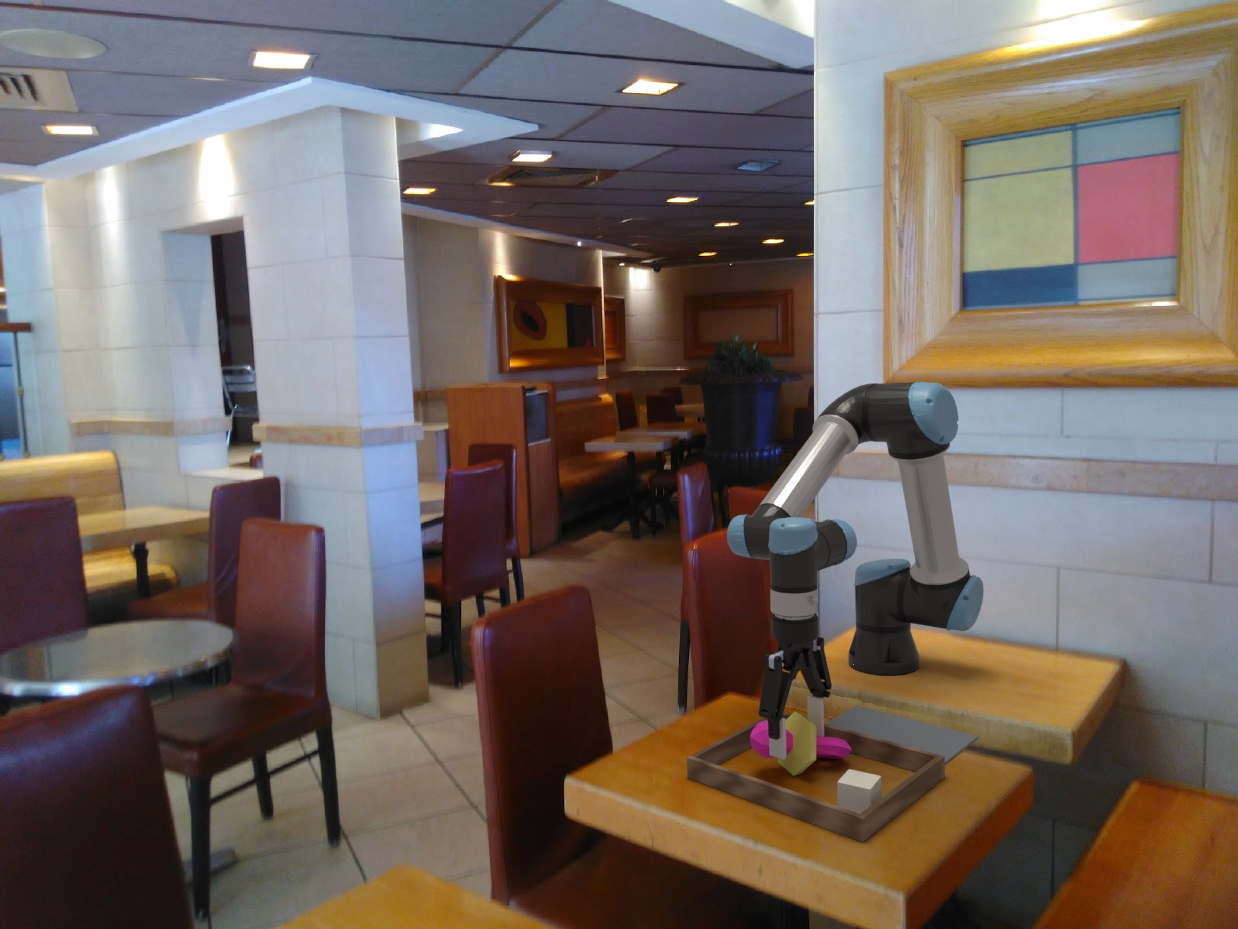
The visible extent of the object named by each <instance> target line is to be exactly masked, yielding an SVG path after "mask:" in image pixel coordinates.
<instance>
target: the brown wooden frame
mask: <svg viewBox="0 0 1238 929" xmlns="http://www.w3.org/2000/svg"><path fill="white" fill-rule="evenodd" d="M776 712H777V710H776ZM791 714H792V713H788V712H783V715H782V718H785V719H787V718H788V717H789V716H790V715H791ZM806 719H807V720H808V718H806ZM765 720H767V721H768V719H767V718H763V717H761V718H760V719H758V720H755V721H754V722H753V723H751V724H749V725H747V726H745V727H742V728H741V729H739V730H737V731H735V732H733V733H731V734H729V735H727V736H725V737H723V738H721V739H720V740H718V741H716V742H714V743H712V744H710V745H708V746H707V747H704V748H702V749H701V750H699V751H697V752H695V753H692V754H691V755H689V756H687V757H686V772H687V773H686V775H687V779H689V780H692V781H695V782H697V783H700V784H703V785H705V786H708V787H711V788H713V789H716V790H719V791H722V792H725V793H728V794H730V795H733V796H735V797H738V798H741V799H743V800H746V801H749V802H751V803H755V804H757V805H760V806H763V807H765V808H767V809H771V810H774V811H776V812H778V813H782V814H784V815H787V816H790V817H793V818H795V819H798V820H800V821H802V822H807V823H809V824H811V825H814V826H817V827H820V828H822V829H825V830H827V831H831V832H833V833H836V834H839V835H842V836H844V837H847V838H850V839H852V840H855V841H858V842H861V843H865V841H867V840H868V839H870V838H871V837H872V836H874V834H876V833H877V832H878V831H879V830H881V829H882V828H884V827H885V826H886V825H887V824H889V822H891V821H892V820H894V819H895V818H896V817H897V816H899V815H900V814H901V813H902V812H904V811H905V810H906V809H907V808H908V807H909V806H911V805H913V803H915V802H916V801H917V800H918V799H919V798H921V797H922V796H924V795H925V794H926V793H927V792H928V791H930V790H931V789H932V788H934V787H935V786H936V785H938V784H939V782H941V781H942V780H943V779H944V778H945V777H946V772H945V771H946V768H945V767H946V764H945V756H941V755H938V754H934V753H930V752H927V751H923V750H919V749H916V748H912V747H909V746H905V745H901V744H898V743H894V742H890V741H887V740H883V739H879V738H876V737H872V736H868V735H865V734H861V733H857V732H854V731H850V730H847V729H843V728H839V727H836V726H832V725H828V724H825V723H826V722H824V736H823V737H832V738H839V739H842V740H845V741H846V742H847V743H848V745H849V746H850V747H851V749H852V751H851V752H850V753H849V754H853V755H857V756H861V757H864V758H868V759H871V760H874V761H877V762H881V763H884V764H888V765H891V766H894V767H899V768H901V769H905V770H908V771H911V772H912V771H913V772H914V773H912V774H911V775H909V776H908V777H907V778H906V779H904V780H903V781H901V782H900V783H899V784H898V785H897V786H895V787H894V788H892V789H891V790H889V791H888V792H887V793H885V795H882V798H880V799H879V800H878V801H876V802H875V803H874V804H872V805H871V806H870V807H868V808H867V809H866V810H864V811H863V812H862V813H860V814H859V813H856V812H853V811H850V810H847V809H844V808H841V807H839V806H838V805H835V804H832V803H830V802H826V801H824V800H820V799H819V798H814V797H812V796H809V795H807V794H803V793H801V792H797V791H795V790H791V789H789V788H786V787H782V786H780V785H778V784H774V783H772V782H769V781H765V780H762V779H759V778H756V777H753V776H750V775H748V774H745V773H742V772H739V771H737V770H733V769H730V768H728V767H724V766H722V765H721V764H724V763H725V762H727V761H729V760H731V759H733V758H735V757H736V756H737V755H740V754H741V753H744V752H745V751H748V750H749V749H750V748H753V747H752V746H751V741H750V735H751V732H752V730H753V729H754V728H755V726H756V725H757V724H758V723H760V722H763V721H765ZM818 737H819V736H818Z"/></svg>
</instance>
